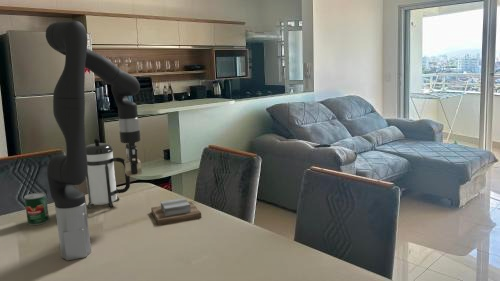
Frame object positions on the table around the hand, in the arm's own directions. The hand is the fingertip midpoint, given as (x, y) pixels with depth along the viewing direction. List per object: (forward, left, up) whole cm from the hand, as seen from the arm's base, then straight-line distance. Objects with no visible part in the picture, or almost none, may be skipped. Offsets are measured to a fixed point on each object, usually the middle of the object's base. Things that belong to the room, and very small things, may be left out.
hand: (133, 172), depth 168 cm
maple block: (0, 0, -1) cm, 1 cm away
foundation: (-2, -15, -20) cm, 25 cm away
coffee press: (+27, +10, -20) cm, 35 cm away
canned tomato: (+17, +37, -20) cm, 45 cm away
